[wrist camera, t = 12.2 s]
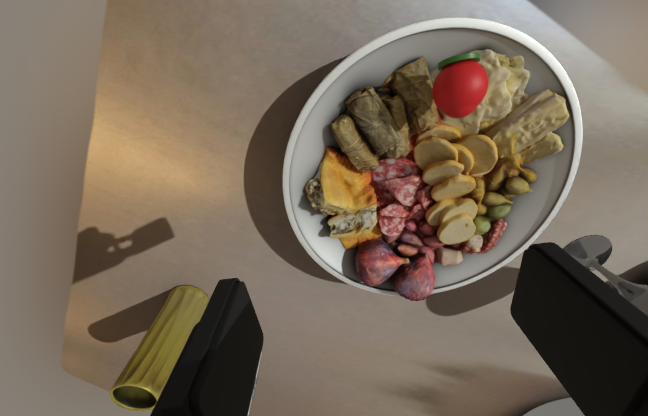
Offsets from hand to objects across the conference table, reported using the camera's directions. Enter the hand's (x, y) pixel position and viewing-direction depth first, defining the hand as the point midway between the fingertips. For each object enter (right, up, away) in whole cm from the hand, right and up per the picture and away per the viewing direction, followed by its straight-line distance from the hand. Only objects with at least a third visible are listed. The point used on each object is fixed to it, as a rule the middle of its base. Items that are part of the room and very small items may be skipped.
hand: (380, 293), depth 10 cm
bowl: (+9, +7, +24) cm, 26 cm away
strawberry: (+9, +10, +13) cm, 19 cm away
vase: (-23, -11, +33) cm, 42 cm away
